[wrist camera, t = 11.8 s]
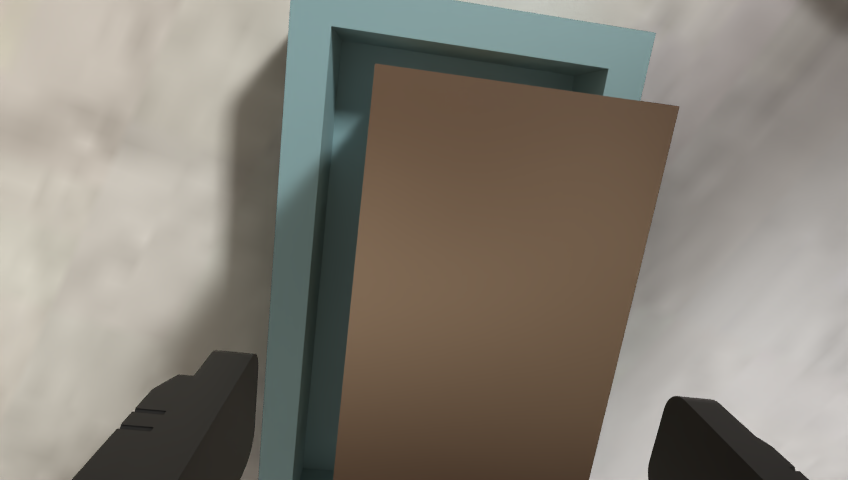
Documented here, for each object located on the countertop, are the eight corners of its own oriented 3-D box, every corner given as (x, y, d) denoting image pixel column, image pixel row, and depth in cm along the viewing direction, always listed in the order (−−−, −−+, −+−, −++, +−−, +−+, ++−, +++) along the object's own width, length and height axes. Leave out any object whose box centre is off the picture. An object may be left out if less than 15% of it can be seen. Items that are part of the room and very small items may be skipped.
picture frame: (385, 92, 15) (370, 63, 6) (519, 110, 15) (682, 106, 7) (347, 441, 18) (302, 757, 9) (461, 450, 18) (522, 761, 9)
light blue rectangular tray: (315, 5, 15) (292, -26, 12) (600, 50, 16) (655, 32, 13) (279, 470, 19) (253, 548, 16) (509, 488, 20) (533, 565, 16)
